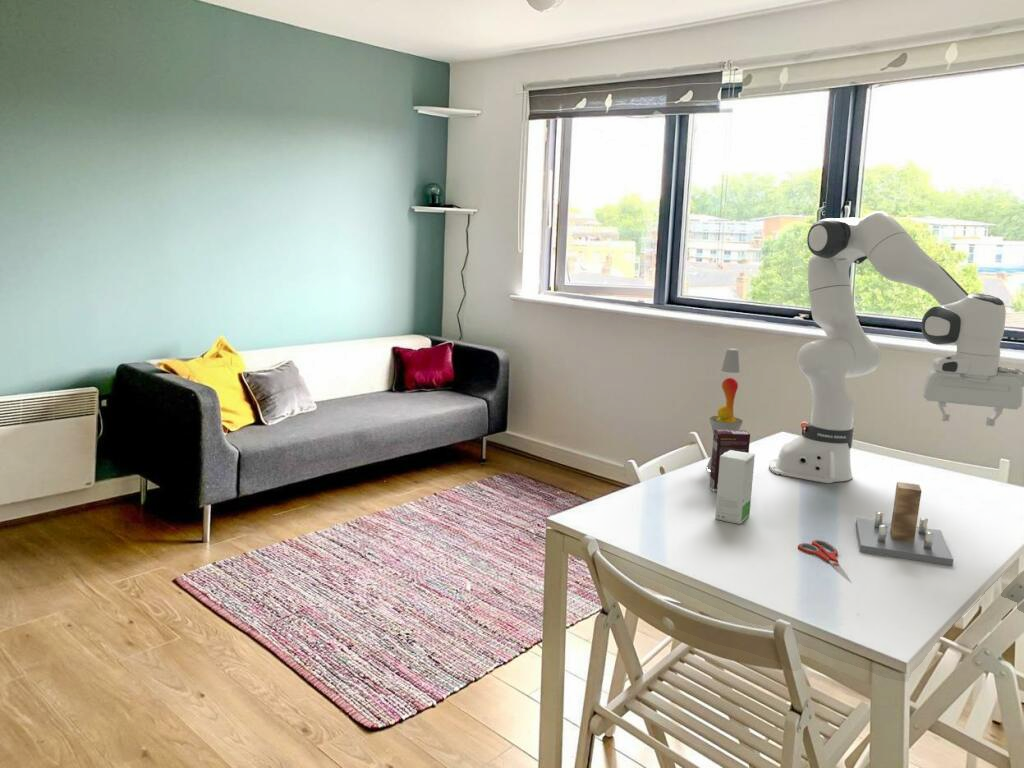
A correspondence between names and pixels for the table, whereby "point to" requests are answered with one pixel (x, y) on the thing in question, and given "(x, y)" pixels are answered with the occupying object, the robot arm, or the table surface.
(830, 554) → the scissors
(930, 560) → the plate
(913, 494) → the oak block
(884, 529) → the standoff pins
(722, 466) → the skincare box
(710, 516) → the table surface
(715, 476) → the supplement box
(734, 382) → the lava lamp
